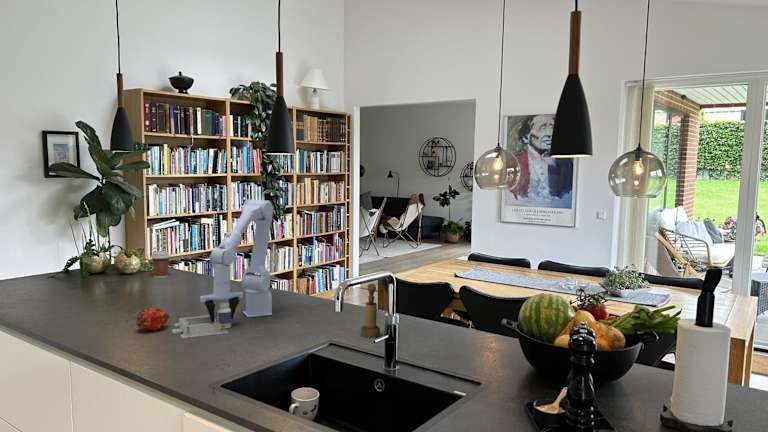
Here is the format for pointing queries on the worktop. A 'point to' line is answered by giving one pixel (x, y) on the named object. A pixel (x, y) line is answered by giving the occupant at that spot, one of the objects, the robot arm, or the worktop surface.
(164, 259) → the coffee cup
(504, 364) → the worktop surface
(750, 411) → the worktop surface
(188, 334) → the socket
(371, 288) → the brown wooden tall piece
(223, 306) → the pill bottle
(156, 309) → the dragon fruit
